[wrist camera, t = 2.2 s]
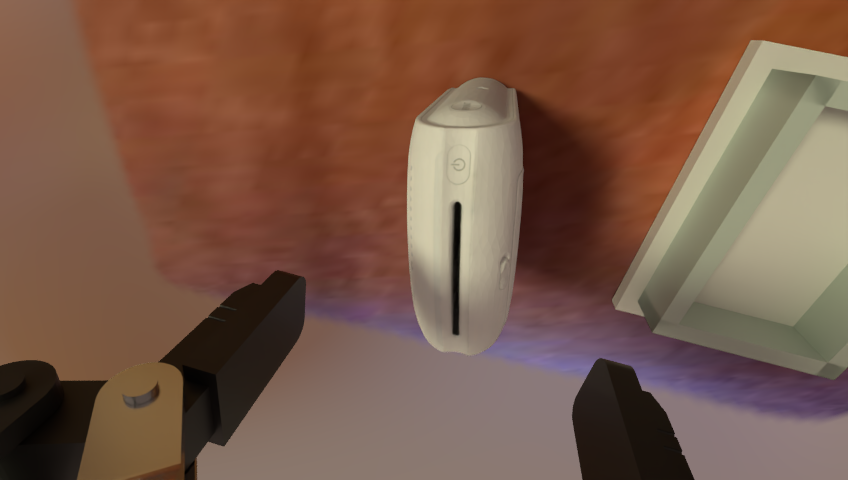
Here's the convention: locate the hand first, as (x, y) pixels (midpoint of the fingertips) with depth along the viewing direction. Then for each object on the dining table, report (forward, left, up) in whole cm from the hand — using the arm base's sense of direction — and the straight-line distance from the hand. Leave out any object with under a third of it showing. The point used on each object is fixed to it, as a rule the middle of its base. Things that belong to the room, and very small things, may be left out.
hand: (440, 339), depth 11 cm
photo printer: (0, 0, -16) cm, 16 cm away
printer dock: (-1, +17, -15) cm, 23 cm away
